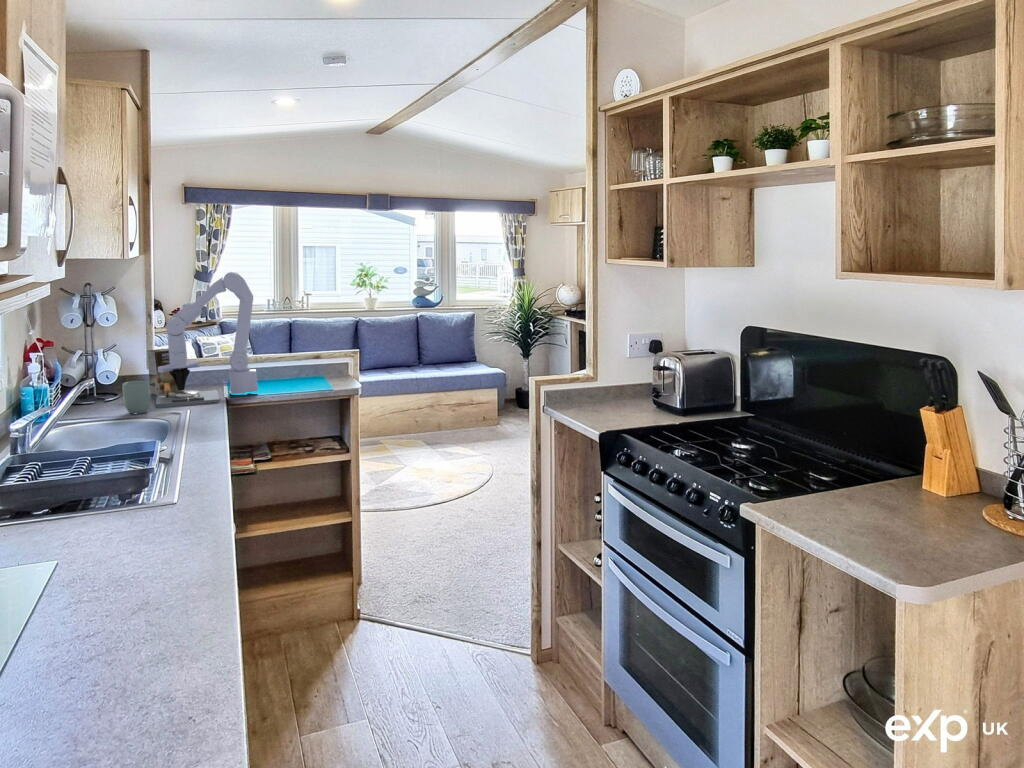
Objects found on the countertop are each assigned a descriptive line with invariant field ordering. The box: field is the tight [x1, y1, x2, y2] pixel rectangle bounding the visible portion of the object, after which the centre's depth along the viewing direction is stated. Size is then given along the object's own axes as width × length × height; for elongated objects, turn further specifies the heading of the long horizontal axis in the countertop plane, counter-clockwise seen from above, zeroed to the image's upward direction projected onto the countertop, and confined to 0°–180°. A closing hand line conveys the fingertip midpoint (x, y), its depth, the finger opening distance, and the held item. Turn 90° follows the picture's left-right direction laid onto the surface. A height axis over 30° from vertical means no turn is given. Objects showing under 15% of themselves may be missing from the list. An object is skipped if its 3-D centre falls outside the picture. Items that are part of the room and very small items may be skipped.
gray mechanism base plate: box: [155, 389, 221, 409], centre depth 259 cm, size 20×18×3 cm
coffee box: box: [146, 347, 183, 396], centre depth 271 cm, size 9×6×16 cm
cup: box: [121, 380, 152, 414], centre depth 239 cm, size 8×8×10 cm
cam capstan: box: [164, 383, 200, 398], centre depth 259 cm, size 12×8×4 cm, turn 87°
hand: (181, 389), depth 263 cm, fingers closed
